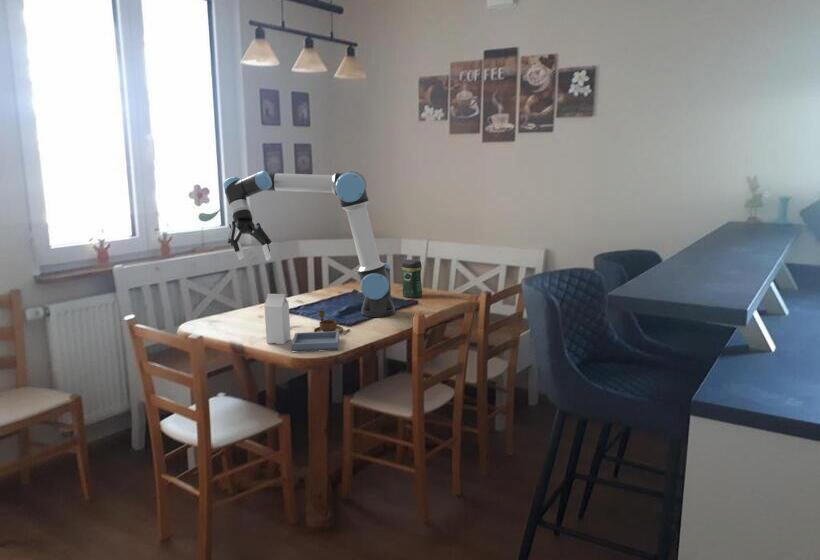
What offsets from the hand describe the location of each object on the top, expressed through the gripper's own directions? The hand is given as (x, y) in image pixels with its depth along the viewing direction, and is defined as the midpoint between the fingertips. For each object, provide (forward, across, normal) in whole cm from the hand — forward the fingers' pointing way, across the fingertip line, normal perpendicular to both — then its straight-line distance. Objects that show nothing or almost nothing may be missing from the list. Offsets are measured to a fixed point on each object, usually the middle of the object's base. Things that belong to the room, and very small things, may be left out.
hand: (255, 259), depth 261 cm
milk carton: (+36, 0, -1) cm, 36 cm away
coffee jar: (+20, -89, +2) cm, 91 cm away
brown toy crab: (+35, -24, +4) cm, 43 cm away
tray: (+43, -5, +13) cm, 45 cm away
